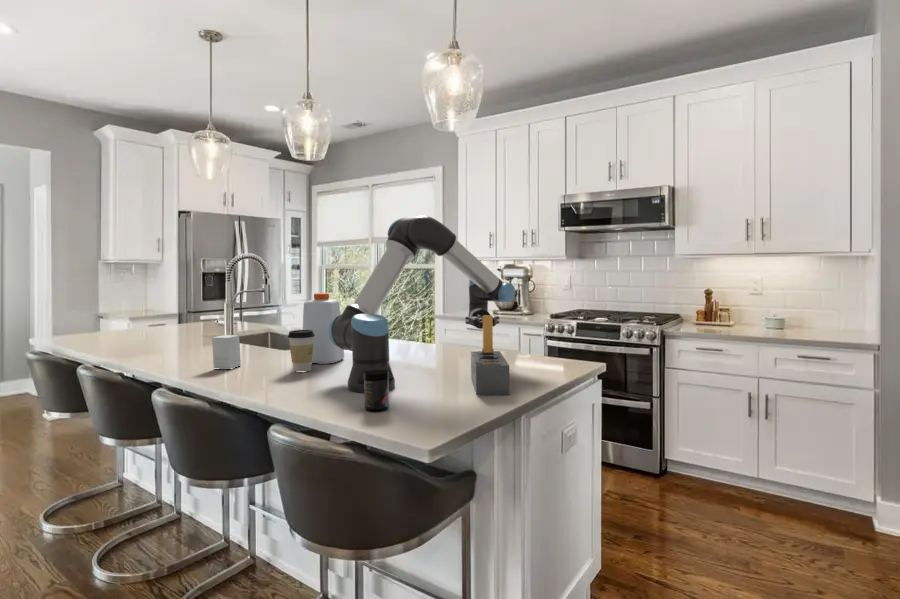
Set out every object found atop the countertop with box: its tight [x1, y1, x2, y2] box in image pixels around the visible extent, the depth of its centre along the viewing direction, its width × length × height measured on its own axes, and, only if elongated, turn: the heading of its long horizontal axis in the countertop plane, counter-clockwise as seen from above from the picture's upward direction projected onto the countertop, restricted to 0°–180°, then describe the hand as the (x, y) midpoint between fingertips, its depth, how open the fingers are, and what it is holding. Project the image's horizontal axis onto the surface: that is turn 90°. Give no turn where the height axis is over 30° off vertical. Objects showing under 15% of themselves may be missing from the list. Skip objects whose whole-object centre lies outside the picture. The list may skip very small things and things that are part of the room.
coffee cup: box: [287, 329, 315, 372], centre depth 204 cm, size 10×10×15 cm
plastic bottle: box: [302, 292, 345, 365], centre depth 223 cm, size 15×15×28 cm
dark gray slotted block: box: [470, 350, 510, 396], centre depth 183 cm, size 40×10×9 cm, turn 1°
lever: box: [481, 314, 495, 355], centre depth 178 cm, size 2×4×13 cm, turn 91°
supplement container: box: [363, 370, 390, 413], centre depth 149 cm, size 7×7×10 cm
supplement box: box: [211, 334, 242, 369], centre depth 211 cm, size 7×7×13 cm
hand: (486, 325), depth 186 cm, fingers closed
